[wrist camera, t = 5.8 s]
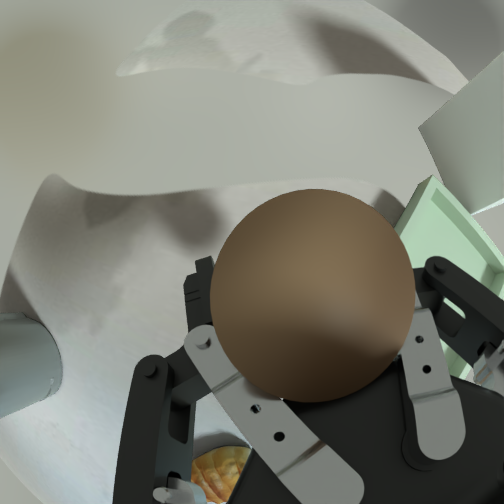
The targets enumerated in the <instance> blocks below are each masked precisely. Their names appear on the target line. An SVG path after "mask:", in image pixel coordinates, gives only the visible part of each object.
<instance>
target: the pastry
mask: <svg viewBox="0 0 504 504" xmlns="http://www.w3.org/2000/svg"><path fill="white" fill-rule="evenodd" d="M250 452H251V449H249V448H247V447H239V446H224V447H220V448H217V449H213V450H211V451H210V452H207V453H205V454H203V455H201V456H199V457H197V458H196V459H194V460H192V469H191V482H193V483H195V484H197V485H198V486H200V487H201V488H202V490H203V491H204V493H205V495H206V501H207V502H215V503H216V504H220V503H222V502H227V501H228V499H229V497H230V495H231V493H232V491H233V489H234V487H235V484H236V482H237V480H238V478H239V476H240V474H241V472H242V470H243V467H244V465H245V463H246V461H247V459H248V456H249V454H250Z"/></svg>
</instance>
